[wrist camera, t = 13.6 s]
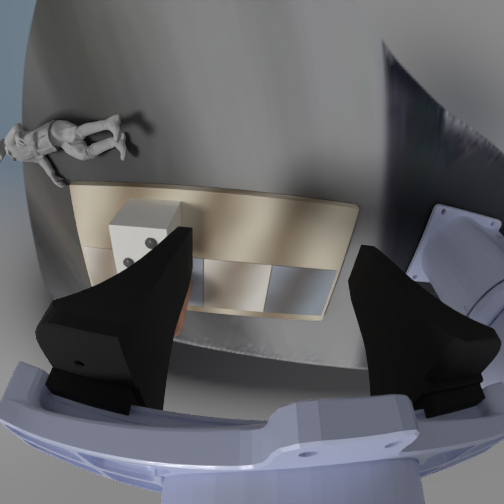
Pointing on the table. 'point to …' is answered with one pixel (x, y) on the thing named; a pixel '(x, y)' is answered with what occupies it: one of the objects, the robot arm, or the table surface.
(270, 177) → the table surface
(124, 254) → the die
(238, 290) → the board
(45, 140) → the soldier figure
